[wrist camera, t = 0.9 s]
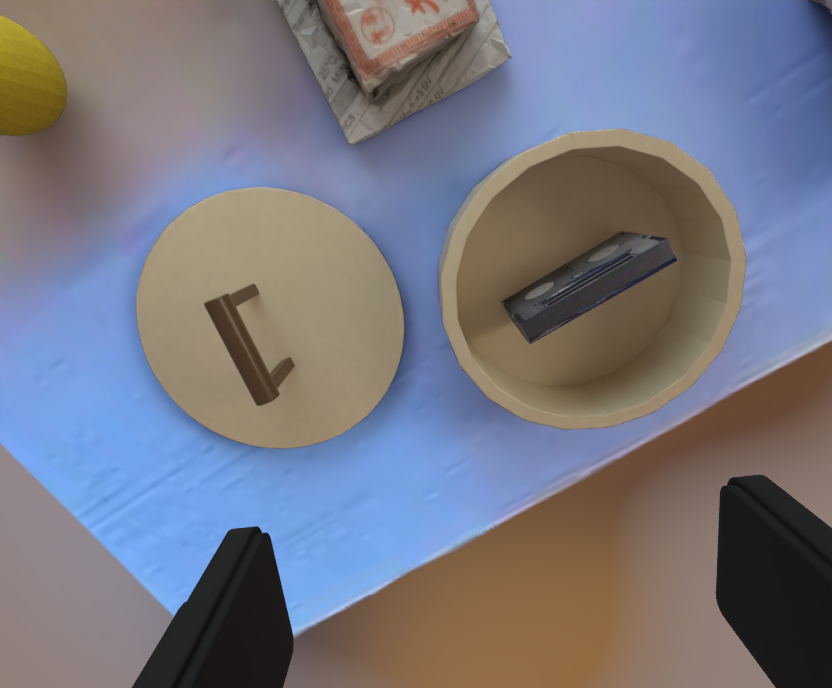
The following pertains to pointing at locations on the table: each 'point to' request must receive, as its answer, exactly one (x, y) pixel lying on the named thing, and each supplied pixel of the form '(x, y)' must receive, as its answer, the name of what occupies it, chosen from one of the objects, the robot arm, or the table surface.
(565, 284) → the mini dv tape
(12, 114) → the lemon
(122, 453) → the table surface
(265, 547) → the robot arm
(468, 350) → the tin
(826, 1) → the geological specimen
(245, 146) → the table surface
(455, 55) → the packaged product
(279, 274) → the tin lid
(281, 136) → the table surface
